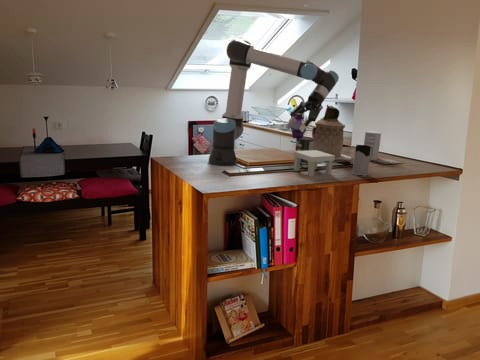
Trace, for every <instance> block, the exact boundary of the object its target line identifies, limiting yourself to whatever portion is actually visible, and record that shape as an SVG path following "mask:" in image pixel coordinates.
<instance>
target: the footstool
mask: <svg viewBox="0 0 480 360" xmlns="http://www.w3.org/2000/svg"><path fill="white" fill-rule="evenodd" d="M292 155H293V157H294V159H295V161H293V162H294V163H293V171H295V172H299V171H300V170H301V169H300V168H301V164H300V161H301V159H304V160H307V161H309V164H307V165H308V166H307V173H306V174H307V176H308V177H314V175H315V174H314V173H315V170H317V169H318V164H319V163H320V162H326V163H325V171H324V174H325V175H328V176H330V175H332V171H333V169H332V168H333V162H334V161H335V160H336V159H335V156H334V155H331V154H328V153H324V152H321V151H317V150H309V151H293V154H292ZM318 162H319V163H318Z"/></svg>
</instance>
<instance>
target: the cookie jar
mask: <svg viewBox="0 0 480 360" xmlns="http://www.w3.org/2000/svg"><path fill="white" fill-rule="evenodd" d="M339 116H340V110H339V109H338V108H337V107H334V106H333V105H329V104H327V105H326V109H325V113H324V116H323V117H322V118H320V119H318V120H317V121H315V122H314V125H315V126H313V127H312V130H311V136H312V137H311V138H314V139H315V140H314V147H313V150H317V151H321V152H324V153H328V154H331V155H334V156H335V160H339V161H340V160H341V161H343V160H344V161H351V159H352V157H351V156H348V155H345V154H343V153H342V154H341V152H342V150H343V148H344V146H343V145H344V129H345V128H346V125H345V124H343V123H342V122H341V121H340V120H339Z"/></svg>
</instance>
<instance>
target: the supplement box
mask: <svg viewBox="0 0 480 360" xmlns="http://www.w3.org/2000/svg"><path fill="white" fill-rule="evenodd" d="M364 133H365V134H364V140H363V145H367V146H370V147H372V148H373V153H372V157H371V160H370V161H376V160H377V161H378V159H379V150H380V147H381V146H380V144H381V138H382V137H381V136H382V131H374V130H366V131H365V132H364ZM371 151H372V149H371V150H370V156H371Z"/></svg>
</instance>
